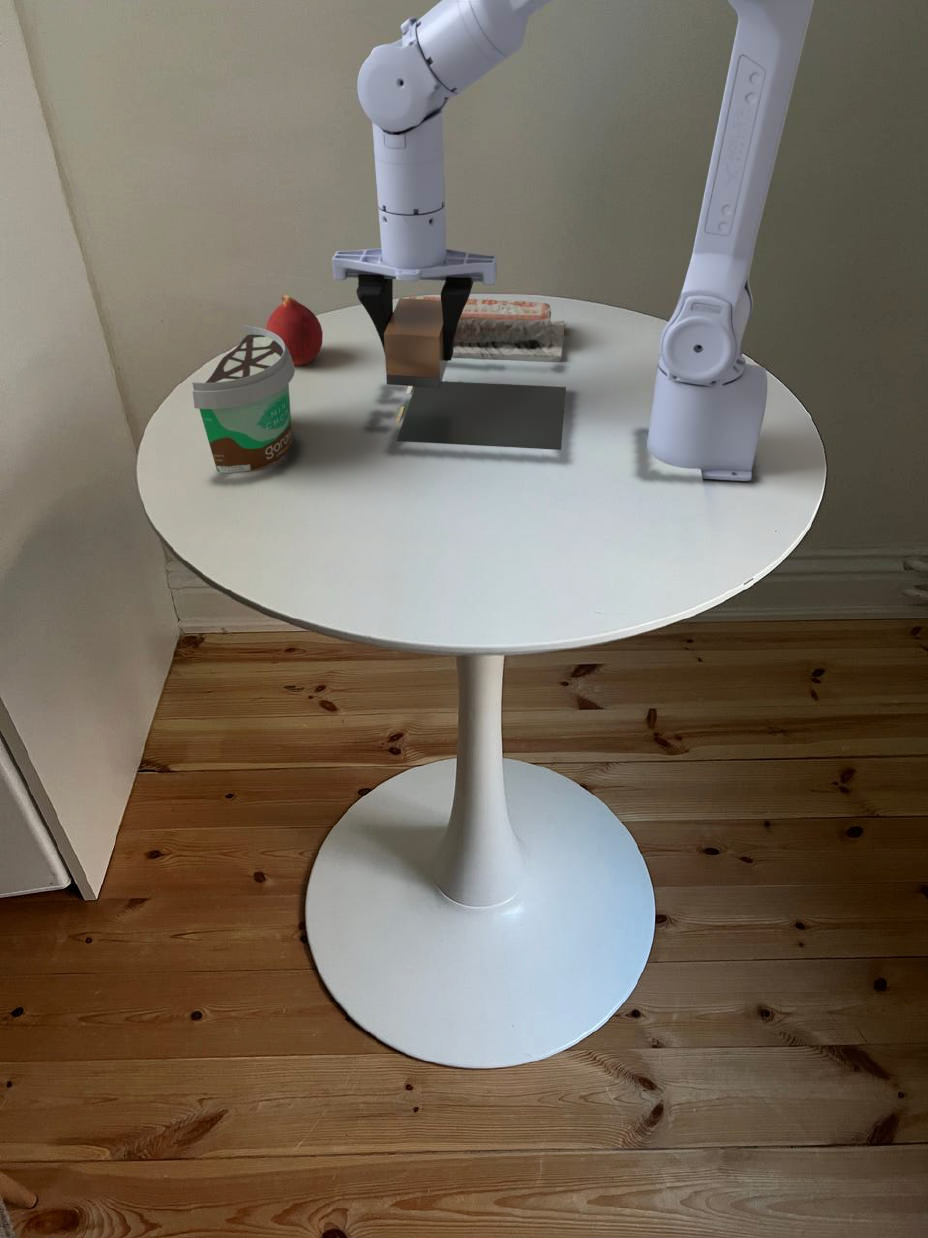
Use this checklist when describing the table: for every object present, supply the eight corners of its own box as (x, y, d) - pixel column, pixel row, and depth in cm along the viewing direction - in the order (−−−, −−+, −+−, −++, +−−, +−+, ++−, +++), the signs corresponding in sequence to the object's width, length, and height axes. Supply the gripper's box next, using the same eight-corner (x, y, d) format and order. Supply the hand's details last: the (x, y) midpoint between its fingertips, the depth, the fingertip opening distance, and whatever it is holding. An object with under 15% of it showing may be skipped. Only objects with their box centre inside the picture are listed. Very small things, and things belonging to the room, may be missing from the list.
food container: (279, 497, 80) (261, 392, 73) (213, 489, 81) (189, 385, 74) (323, 426, 89) (311, 327, 82) (263, 421, 90) (246, 322, 83)
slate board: (569, 393, 94) (569, 384, 93) (564, 461, 84) (565, 451, 83) (414, 386, 95) (413, 377, 94) (391, 452, 85) (391, 442, 85)
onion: (312, 351, 102) (303, 279, 96) (335, 371, 98) (326, 298, 93) (263, 364, 99) (251, 291, 94) (284, 385, 96) (273, 310, 90)
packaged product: (391, 320, 96) (406, 284, 103) (394, 363, 99) (408, 325, 107) (564, 326, 94) (567, 289, 102) (561, 370, 97) (564, 331, 105)
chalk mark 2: (416, 382, 94) (415, 379, 94) (411, 396, 92) (410, 392, 92) (388, 387, 95) (387, 383, 95) (383, 401, 93) (382, 397, 93)
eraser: (451, 350, 91) (451, 300, 87) (439, 388, 85) (439, 336, 82) (401, 347, 91) (399, 297, 88) (386, 384, 85) (383, 333, 82)
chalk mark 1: (405, 409, 90) (404, 405, 90) (400, 424, 88) (399, 421, 88) (376, 413, 91) (375, 410, 91) (371, 429, 89) (369, 425, 88)
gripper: (317, 217, 76) (334, 370, 85) (491, 222, 74) (491, 377, 83) (336, 191, 81) (351, 338, 90) (499, 195, 80) (498, 343, 89)
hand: (419, 354), depth 87 cm, fingers closed on eraser, 5 cm apart
